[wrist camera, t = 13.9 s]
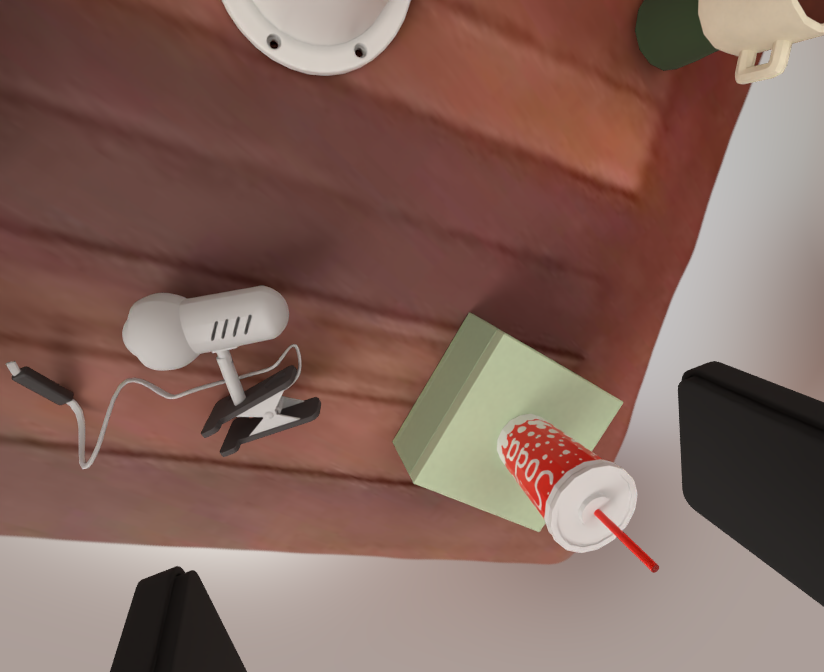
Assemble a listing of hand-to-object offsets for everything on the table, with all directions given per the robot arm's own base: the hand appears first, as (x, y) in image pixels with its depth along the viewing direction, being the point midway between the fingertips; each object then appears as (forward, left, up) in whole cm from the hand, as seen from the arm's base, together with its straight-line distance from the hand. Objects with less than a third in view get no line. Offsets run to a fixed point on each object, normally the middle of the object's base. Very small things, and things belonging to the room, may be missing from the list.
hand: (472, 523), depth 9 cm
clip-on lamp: (+11, -5, -31) cm, 33 cm away
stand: (+4, +20, -30) cm, 36 cm away
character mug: (-30, +15, -31) cm, 45 cm away
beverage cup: (+4, +20, -24) cm, 31 cm away
